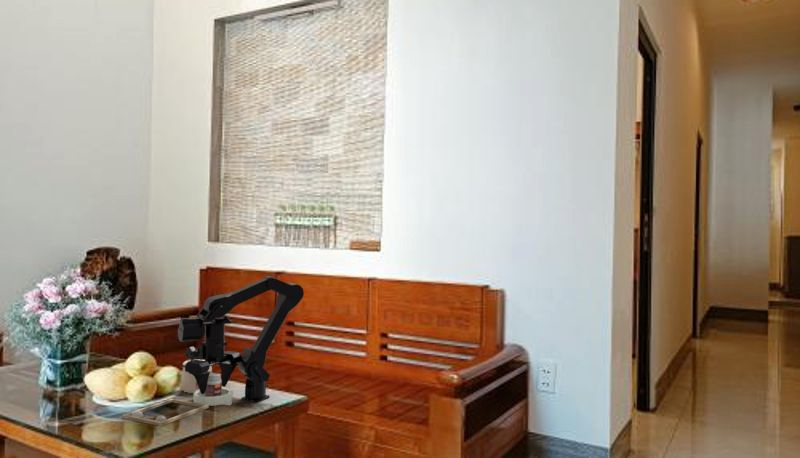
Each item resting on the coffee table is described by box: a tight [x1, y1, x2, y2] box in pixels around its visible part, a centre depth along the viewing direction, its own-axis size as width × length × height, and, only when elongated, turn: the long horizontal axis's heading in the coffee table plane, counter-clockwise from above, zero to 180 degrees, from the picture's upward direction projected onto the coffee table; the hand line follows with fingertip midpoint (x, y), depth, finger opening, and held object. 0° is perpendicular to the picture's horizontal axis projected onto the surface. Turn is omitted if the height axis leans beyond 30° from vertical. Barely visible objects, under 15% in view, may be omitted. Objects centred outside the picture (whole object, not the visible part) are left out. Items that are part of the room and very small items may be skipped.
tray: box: [121, 398, 209, 427], centre depth 167 cm, size 18×14×2 cm
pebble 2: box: [154, 415, 167, 422], centre depth 160 cm, size 3×3×3 cm
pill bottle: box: [205, 372, 223, 397], centre depth 180 cm, size 5×5×8 cm
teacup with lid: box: [181, 359, 213, 394], centre depth 197 cm, size 12×9×12 cm
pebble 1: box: [132, 410, 144, 418], centre depth 163 cm, size 3×3×3 cm
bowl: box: [192, 387, 234, 407], centre depth 180 cm, size 11×11×4 cm
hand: (213, 390), depth 180 cm, fingers open, 9 cm apart
